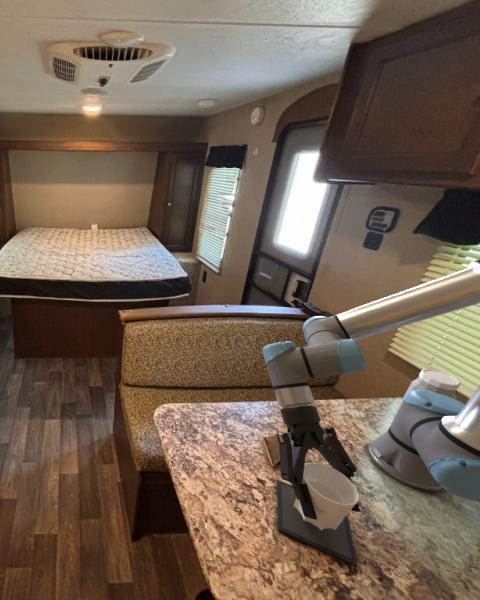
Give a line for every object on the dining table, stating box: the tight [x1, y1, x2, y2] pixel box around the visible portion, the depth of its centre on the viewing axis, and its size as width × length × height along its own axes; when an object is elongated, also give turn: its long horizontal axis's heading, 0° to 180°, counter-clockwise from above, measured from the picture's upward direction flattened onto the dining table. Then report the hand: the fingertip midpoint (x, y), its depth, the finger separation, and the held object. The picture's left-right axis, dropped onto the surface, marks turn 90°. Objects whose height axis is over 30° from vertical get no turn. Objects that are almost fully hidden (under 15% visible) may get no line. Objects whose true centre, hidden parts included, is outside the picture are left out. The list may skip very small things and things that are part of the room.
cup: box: [294, 461, 360, 531], centre depth 70 cm, size 10×10×10 cm
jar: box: [395, 368, 462, 413], centre depth 99 cm, size 10×10×18 cm
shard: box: [261, 433, 293, 467], centre depth 91 cm, size 11×8×2 cm
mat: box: [276, 479, 358, 568], centre depth 73 cm, size 14×14×1 cm
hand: (332, 513), depth 68 cm, fingers closed on cup, 10 cm apart
